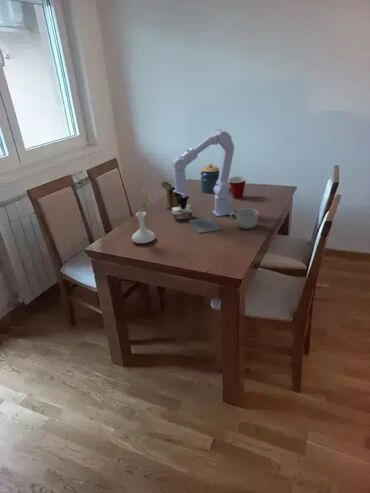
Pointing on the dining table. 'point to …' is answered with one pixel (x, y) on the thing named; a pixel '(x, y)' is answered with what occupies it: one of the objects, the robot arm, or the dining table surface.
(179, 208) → the cream block with tabs
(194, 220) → the mat
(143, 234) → the flower in vase
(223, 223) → the dining table surface
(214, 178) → the canister
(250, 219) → the teacup
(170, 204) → the wooden mug
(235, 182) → the plastic cup
